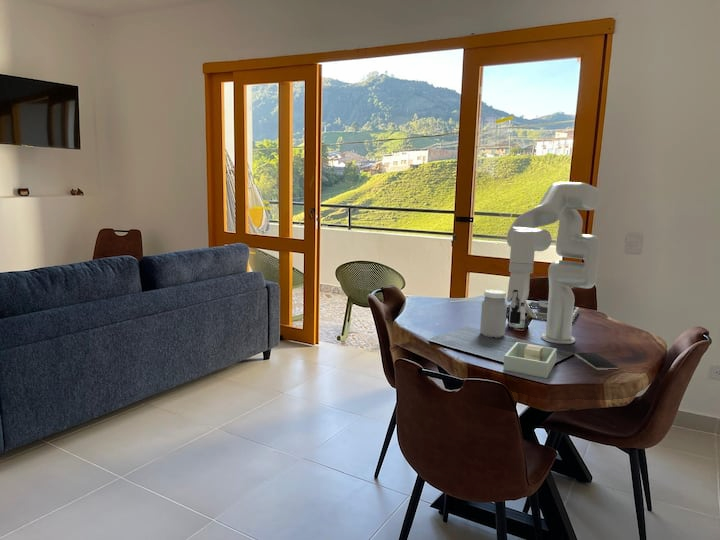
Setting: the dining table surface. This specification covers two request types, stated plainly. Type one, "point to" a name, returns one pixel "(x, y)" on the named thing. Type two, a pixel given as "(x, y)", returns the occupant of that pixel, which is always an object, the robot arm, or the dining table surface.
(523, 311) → the aluminium cylinder
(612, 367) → the smartphone
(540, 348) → the maple cube
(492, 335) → the jar
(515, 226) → the robot arm
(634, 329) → the dining table surface
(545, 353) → the tote
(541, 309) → the streaming box
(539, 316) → the speaker stand
